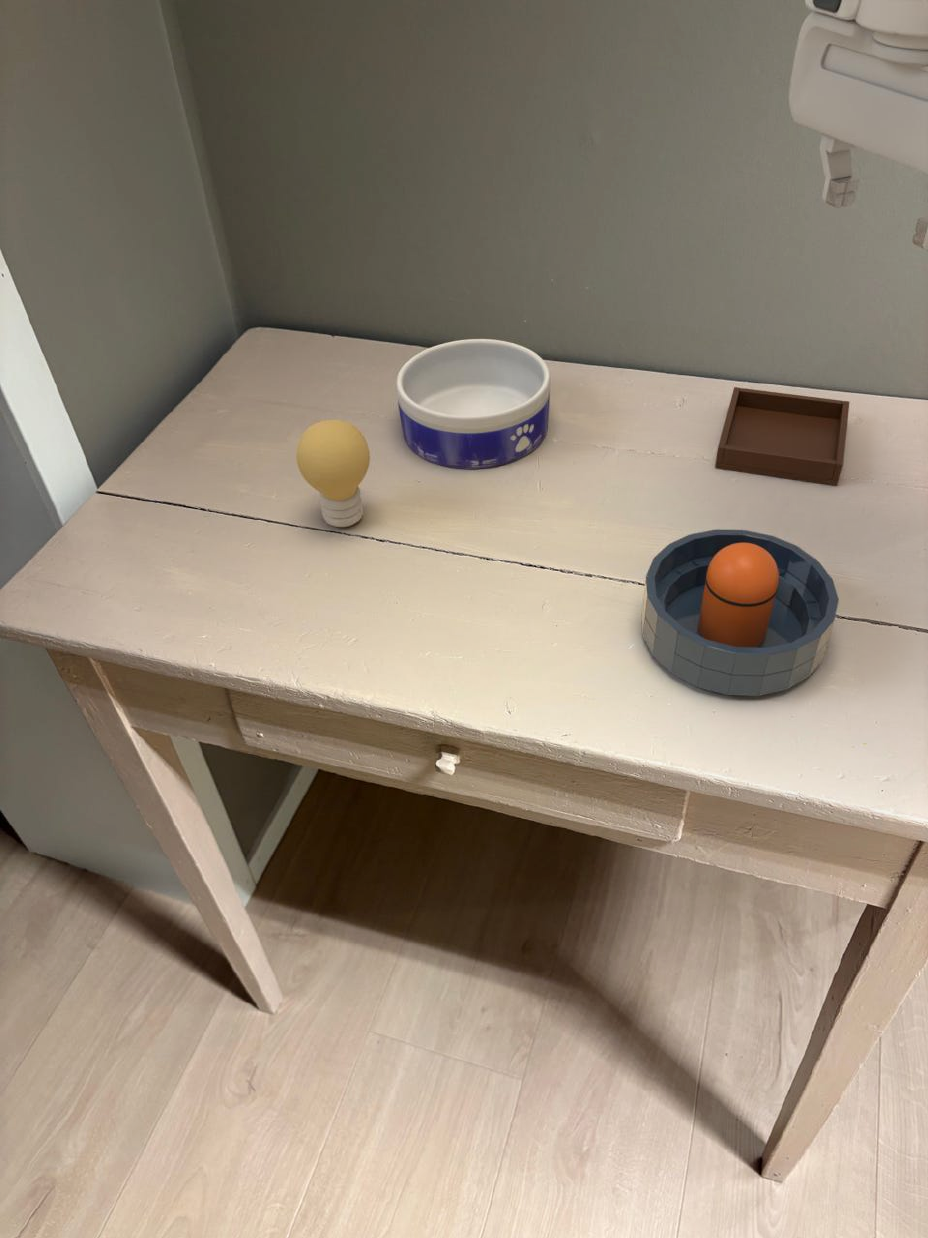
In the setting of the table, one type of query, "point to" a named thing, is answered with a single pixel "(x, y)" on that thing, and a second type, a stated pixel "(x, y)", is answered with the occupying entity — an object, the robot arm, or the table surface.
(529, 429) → the dog bowl
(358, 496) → the light bulb
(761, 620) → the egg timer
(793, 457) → the tray
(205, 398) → the table surface
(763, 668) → the glazed bowl
